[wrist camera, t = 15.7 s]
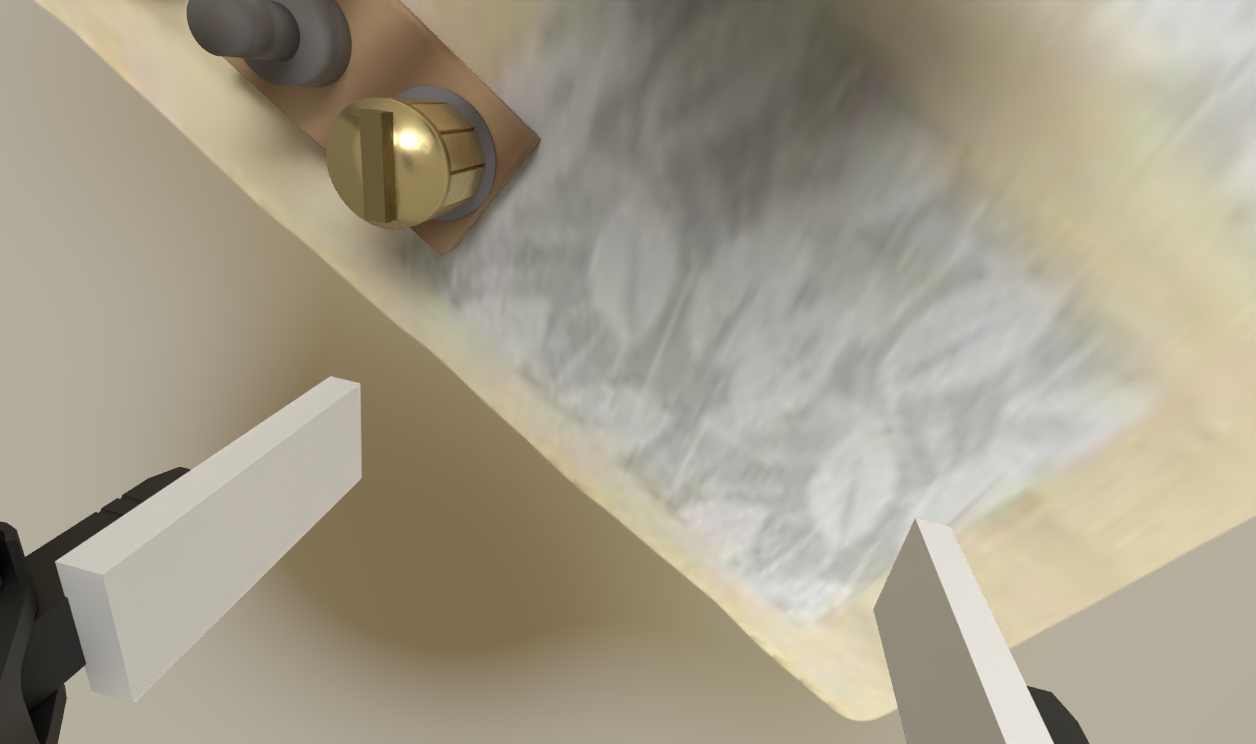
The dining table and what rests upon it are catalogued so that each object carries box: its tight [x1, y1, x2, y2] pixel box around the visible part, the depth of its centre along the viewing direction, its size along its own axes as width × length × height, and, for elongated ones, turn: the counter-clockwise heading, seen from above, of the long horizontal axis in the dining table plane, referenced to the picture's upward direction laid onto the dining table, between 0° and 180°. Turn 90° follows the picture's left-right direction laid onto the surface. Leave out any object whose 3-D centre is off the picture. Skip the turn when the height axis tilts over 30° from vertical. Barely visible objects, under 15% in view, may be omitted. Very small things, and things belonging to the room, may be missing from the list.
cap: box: [326, 98, 486, 229], centre depth 36 cm, size 7×7×7 cm
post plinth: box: [187, 0, 541, 255], centre depth 36 cm, size 18×10×10 cm, turn 47°
